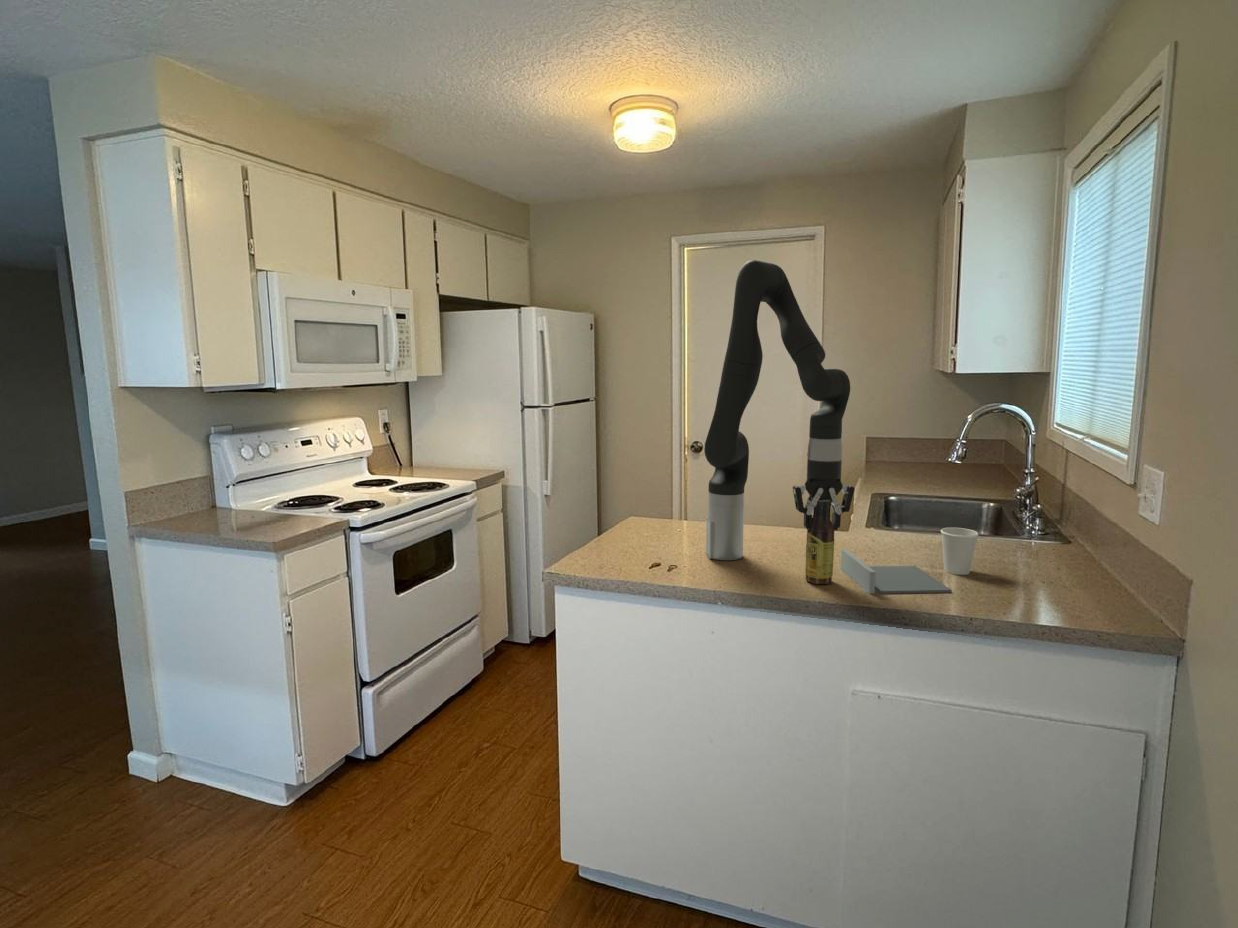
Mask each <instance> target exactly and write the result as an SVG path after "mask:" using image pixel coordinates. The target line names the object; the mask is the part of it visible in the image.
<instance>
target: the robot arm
mask: <svg viewBox="0 0 1238 928" xmlns="http://www.w3.org/2000/svg"><path fill="white" fill-rule="evenodd" d="M762 302H763V303H766V304H767V305H768V306H769V308H771V310H772V311H773V312H774V314H775V316H776V317H777V320H778V321H779V322H778V323H779V329H780V338H781V340H782V343H783V346H784V347H785V349H786V351H787V353H788V354H789V357H791V360H792V361H793V363H794V364H795V365H796V369H797V374H798V377H799V380H800V383H801V387H802V389H803V391H804V393H805V394H806V395H807V397H808V398H810V399H811V400H812V401H816V402H821V405H820V406H819V407H820V408H819V409H817V410H816V411H815V412H813V413H812V414H811V415H810V418H809V435H808V436H809V439H808V444H807V452H806V457H807V458H806V459H807V461H806V463H807V464H806V482H805V483H804V484H802V485H795V484H794V485H793V486H792V493H793V499H794V504H795V509H796V510H797V511H798V512H799V513H801V514H803V526H804V528H805V529H806V531H807V530H808V531H810V530H811V528H812V518H813V511H814V507H815V506H816V505H817V501H818V500H831V501H832V503H831V509H832V511H833V512H832V513H831V522H832V524H833V526H834V531H838V529H839V528H840V527H841V521H842V520H841V517H842V514H843V513H847V512H850V510H851V505H852V501H853V497H854V493H855V487H854V486H852V485H850V484H843V483H842V480H841V479H842V459H843V445H842V444H843V442H842V433H843V432H842V431H843V418H844V415H845V412H846V408H847V405H848V402H849V397H850V393H851V381H850V377H849V376H848V374H847V373H846V372H845V371H844V370H842V369H839V368H828V369H827V368H826V369H825V368H824V367H823V365H822V363H823V362H824V360H825V358H826V352H825V349H824V348H823V346H822V344H821V343H820V340H818V337H817V336H816V334H815V332H813V330H812V329H811V326H810V325H809V324H808V322H807V320H806V318H805V316H804V314H803V312H802V309H801V308H800V305H799V303H798V301H797V298H796V296H795V293H794V291H793V290H792V286H791V284H790V282H789V279H788V276H787V274H786V273H785V271H784V269H783V268H782V267H781V266H779V265H777V264H776V263H775V264H774V263H771V262H767V261H762V260H761V261H760V260H756V259H751V260H749V261H747V262H745V263H744V264H743V265H742V266H741V268H740V270H739V271H738V274H737V277H736V281H735V289H734V299H733V309H732V318H731V324H730V325H731V326H730V330H729V331H730V332H729V336H728V342H727V348H726V352H725V355H724V359H723V365H722V371H721V378H720V383H719V387H718V392H717V397H716V404H715V408H714V412H713V416H712V420H711V423H710V426H709V428H708V432H707V435H706V439H705V442H704V456H705V458H706V460H707V462H708V464H710V466H712V467H714V472H713V475H712V476H711V478H710V479H709V481H708V497H707V500H708V501H707V502H708V503H707V504H708V507H707V518H706V521H705V522H706V523H705V524H706V525H705V526H706V527H705V529H706V531H705V532H706V534H705V538H706V539H705V553H706V555H707V557H708V558H709V559H710V560H719V561H736V560H739V559H742V558H743V556H744V516H745V515H744V513H745V512H744V510H745V508H744V507H745V485H746V483H747V480H748V473H749V462H750V461H749V459H750V451H749V450H750V449H749V448H750V447H749V446H750V445H749V442H748V439H747V438H746V436H745V434H744V433H743V432H741V431H739V430H740V425H741V421H742V417H743V415H744V412H745V410H746V408H747V406H748V404H749V402H750V401H751V398H752V396H753V395H754V392H755V391H756V388H757V385H758V383H759V378H760V376H761V375H760V373H761V370H762V364H763V356H764V355H763V349H762V343H761V339H760V334H759V330H758V316H759V312H760V311H759V310H760V306H761V303H762ZM805 490H806V493H808V497H807V500H806V503H805V506H804V500H803V495H804V494H805ZM841 491H842V495H843V496H842V501H841V505H840V502H839V499H838V495H839V493H841Z"/></svg>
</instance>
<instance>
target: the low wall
mask: <svg viewBox="0 0 1238 928" xmlns="http://www.w3.org/2000/svg"><path fill="white" fill-rule="evenodd" d="M840 560H841V561H840V562H841V563H840V570H841V571H842V572H843V573H844V574H846V575H847V576H848V577H849V578H850V579H851V580H853V582H855V583H856V584H857V585H859V586H860V587H861V589H863V590H864V591H865V592H867V594H868V595H875V593H876V589H875V576H876V572H875V571H874V570H872V569H871V568H870V567H871V566H869V565H867V564H866V563H865V562H863V561H862V560H860V558H858V557H856V556H855V555H854V554H853V553H852V552H851V551H849V550H848V549H841V559H840Z"/></svg>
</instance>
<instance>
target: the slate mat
mask: <svg viewBox="0 0 1238 928" xmlns="http://www.w3.org/2000/svg"><path fill="white" fill-rule="evenodd" d="M869 567H870V568H871V569H872V570H874V571H875V572H876V576H875V591H877V592H878V593H879V594H883V595H884V594H886V595H887V594H889V595H890V594H937V593H940V594H942V593H948V594H949V593H952V589H951V588H949V587H948V586H946V585H945V584H943V583H942V582H941V581H939V580H937V579H935V578H934V577H933V576H931V575H930V574H928V573H927V572H925V571H924V570H923V569H921V568H919V567H917V566H916V565H886V566H885V565H884V566H880V565H877V566H876V565H875V566H873V565H871V566H869Z"/></svg>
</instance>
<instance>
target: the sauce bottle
mask: <svg viewBox="0 0 1238 928" xmlns="http://www.w3.org/2000/svg"><path fill="white" fill-rule="evenodd" d="M831 503H832V501H831V500H818V501H817V505H816V506H815V507H814V509H813V511H812V528H811V530H810V531H808V530H807V529H806V543H805V544H806V547H805V565H804V566H805V567H804V569H805V570H804V571H805V572H804V573H805V580H806V581H807V582H809V583H810V584H813V585H827V584H830V583H832V580H833V575H834V573H833V572H834V557H835V555H834V553H835V530H834V526H833V524H832V519H831V508H832V506H831Z"/></svg>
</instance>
